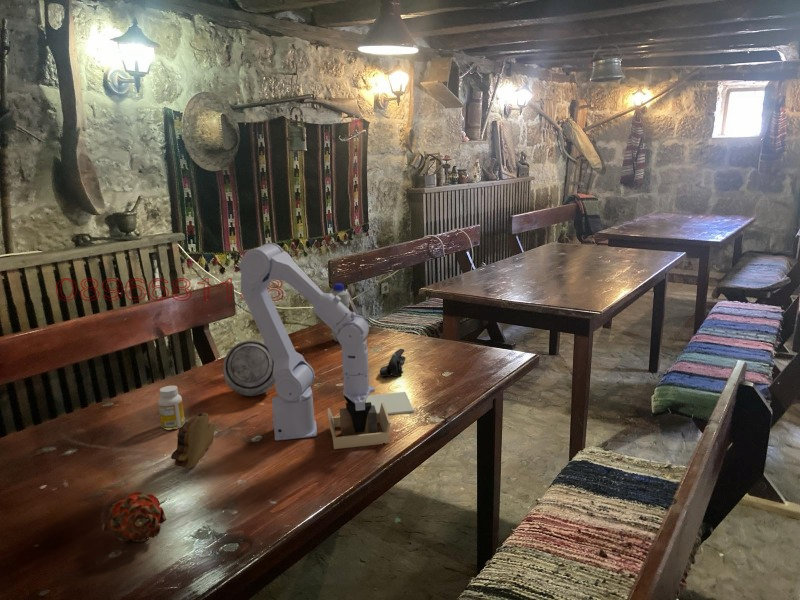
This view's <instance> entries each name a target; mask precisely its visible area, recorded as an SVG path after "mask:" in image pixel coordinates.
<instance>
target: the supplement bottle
mask: <svg viewBox="0 0 800 600" xmlns="http://www.w3.org/2000/svg"><path fill="white" fill-rule="evenodd" d="M159 396H160V397H159V398H158V400H157V405H158V411H159V420H160V426H161V428H162V427H164V428H174V427H178V426H181V425H182V424H184V423H185V422H186V419H185V412H184V404H183V397H182V396H181V395H180V394H179V389H178V386H177V385H166V386H163V387H161V388H160V389H159Z"/></svg>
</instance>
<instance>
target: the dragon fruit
mask: <svg viewBox="0 0 800 600" xmlns="http://www.w3.org/2000/svg"><path fill="white" fill-rule="evenodd" d="M108 511H109V514H108V515H107V516H105V520H108V519H109V518H110V517H111V516H112V518H111V519H109V521H108V522H107V523H102V524H101V525H102V526H101V528H102V531H103V532H104V533H108V532H113V531H114V532H117V531H118V532H117V539H118V540H119V541H120V542H128V541H130V540H132V541H133V542H135V543H137V542H139V543H140V542H145V540H146V541H148V540H147V538H149V537H150V538H151V539H153V538H155V537H157V536H158V535H159V534H160V531H161V524H164V522H166V521H167V518H166V515H165V510H164V508H163V507H161V503H160V499H159V498H158V497H157V496H156V495H154V494H152V493H148V494H147V495H145V494H144V493H143V492H141V491H139V490H138V491H130V492H127V494H126V498H125V499H124V498H123V499H120V500H118V501H117V502H114V503H112V504H111V507H110V509H109V510H107V512H108ZM150 538H149V539H150ZM129 539H130V540H129Z"/></svg>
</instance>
